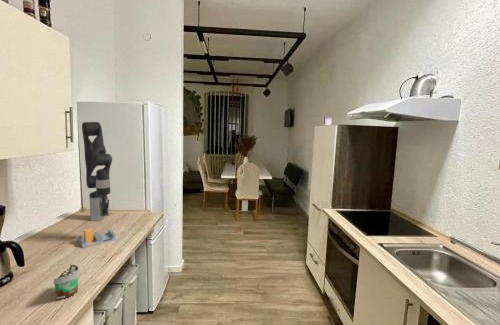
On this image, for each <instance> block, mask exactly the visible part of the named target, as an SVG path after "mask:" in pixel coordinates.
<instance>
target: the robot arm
mask: <svg viewBox="0 0 500 325" xmlns="http://www.w3.org/2000/svg"><path fill="white" fill-rule="evenodd" d="M81 132H82V139H83V148H84V162H85V169H86V171H85V172H86V173H85V175H86V176H85V178H86V186H87V188H88V189H95V190H94V191H92V192H90V193H89V198H88V199H89V214H90V215H89V219H90V221H91V222H98V221H102V220H105V216H103V217H101V216H100V210H99V204H102V205H103V214H104V215H106V214H107V208H108V209H109V205H110V199H109V197H108V195H110V194H111V179H110V169H111V166H112V162H113V156H112V155H111V154H110V153H107V149H106V147H105V143H104V136H103V129H102V126H101V123H100V122H98V121H86V122H85V121H84V122H82V124H81ZM89 137H95V138H94V139H93V141H92V140H90V138H89ZM98 166H99V167H101V166H104V167H103V168H100V169H99V168H98V169H97V170H96V172H95V173H96V174H95V175H93V172H94V170H95V168H97V167H98ZM105 205H106V206H105Z"/></svg>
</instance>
